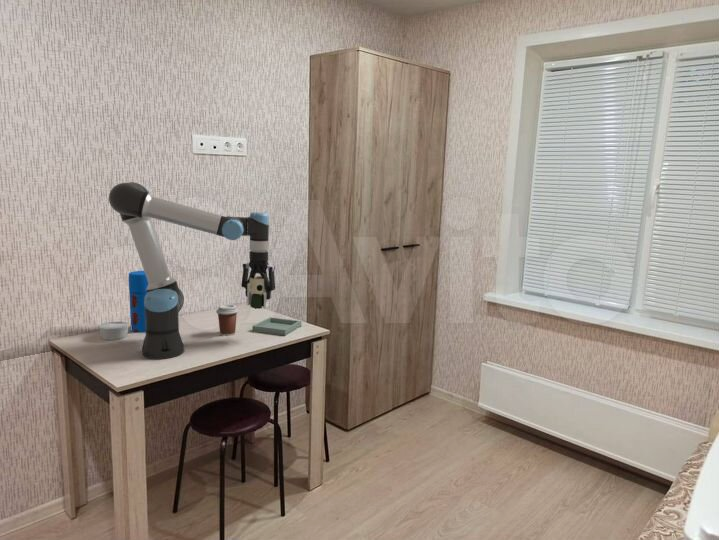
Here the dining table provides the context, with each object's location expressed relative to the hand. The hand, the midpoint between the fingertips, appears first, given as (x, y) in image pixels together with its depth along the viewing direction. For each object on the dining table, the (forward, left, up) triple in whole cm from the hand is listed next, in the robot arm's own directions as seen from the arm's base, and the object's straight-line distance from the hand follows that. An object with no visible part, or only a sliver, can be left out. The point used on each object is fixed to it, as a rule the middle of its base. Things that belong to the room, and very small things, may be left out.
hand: (257, 305), depth 213 cm
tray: (+16, 0, -14) cm, 22 cm away
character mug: (0, 0, -1) cm, 1 cm away
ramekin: (-22, +55, -15) cm, 61 cm away
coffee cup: (+1, +16, -14) cm, 21 cm away
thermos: (-8, +52, -14) cm, 54 cm away
